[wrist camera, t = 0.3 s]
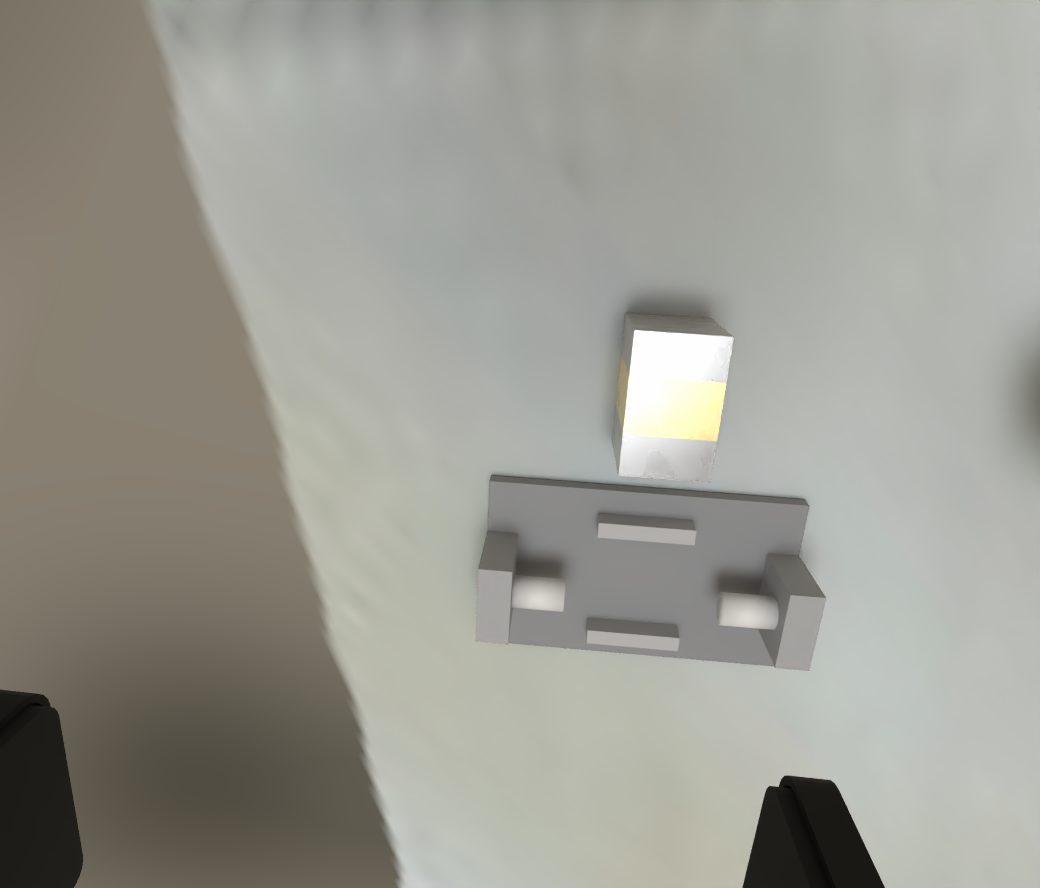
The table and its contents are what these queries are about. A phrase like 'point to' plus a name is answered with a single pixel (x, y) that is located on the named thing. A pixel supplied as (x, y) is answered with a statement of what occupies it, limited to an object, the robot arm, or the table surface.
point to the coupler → (670, 396)
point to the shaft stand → (647, 572)
